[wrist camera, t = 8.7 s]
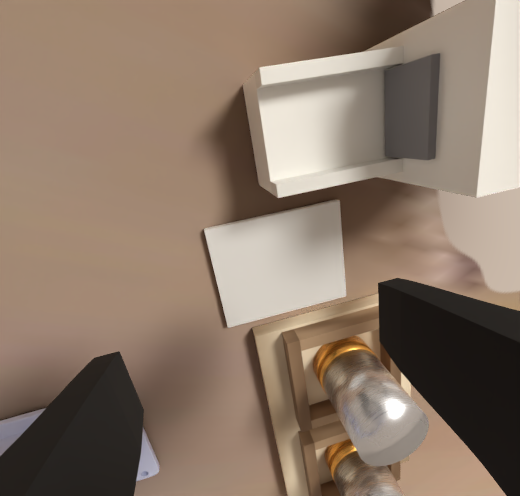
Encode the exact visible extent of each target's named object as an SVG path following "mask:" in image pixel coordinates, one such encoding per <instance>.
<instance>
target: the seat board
mask: <svg viewBox="0 0 520 496" xmlns="http://www.w3.org/2000/svg"><path fill="white" fill-rule="evenodd" d="M252 330H253V335H254V339H255V344H256V349H257V354H258V358H259V363H260V368H261V373H262V377H263V382H264V387H265V392H266V397H267V401H268V406H269V411H270V416H271V420H272V425H273V430H274V435H275V439H276V444H277V449H278V454H279V459H280V463H281V468H282V473H283V478H284V482H285V487H286V492H287V495H288V496H341V495H340V493H339V490H338V488H337V485H336V483H335V482H334V480H333V478H332V475H331V473H330V471H329V468H328V466H327V463H326V461H325V451H326V449H327V447H328V446H330V445H333V444H336V443H339V442H342V441H345V440H348V439H350V437H349V435H348V434H347V432H346V430H345V428H344V426H343V424H342V422H341V420H340V419H339V417H338V415H337V413H336V411H335V409H334V407H333V405H332V404H331V402H330V400H329V398H328V396H327V394H326V393H325V392H324V390H323V388H322V386H321V385H320V383H319V381H318V379H317V377H316V375H315V373H314V370H313V360H314V357H315V355H316V353H317V351H318V350H319V348H320V347H321V346H322V345H324V344H327V343H331V342H334V341H338V340H341V339H345V338H348V337H352V336H358V337H360V338H361V339H362V340H363V341H364V342H365V343H366V344H367V345H368V346H369V348H370V349H371V350H372V351H373V352H374V353H375V355H376V356H377V357H378V359H379V361H380V362H381V363H382V364H383V365H384V366H385V368H386V369H387V370H388V371H389V372H390V373H391V375H392V376H393V377H394V378H395V379H396V380H397V382H398V383H399V384H400V385H401V386H402V388H403V389H404V390H405V391H406V392H407V393H408V395H409V396H410V397H411V383H410V382H409V381H408V380H407V378H406V377H405V376H404V375H403V374H402V373H401V371H400V370H399V369H398V367H397V366H396V365H395V363H394V362H393V360H392V359H391V358H390V356H389V355H388V353H387V352H386V350H385V349H384V347H383V346H382V344H381V343H380V341H379V297H378V294H375V295H371V296H367V297H364V298H360V299H356V300H353V301H349V302H345V303H342V304H338V305H334V306H331V307H327V308H323V309H320V310H316V311H312V312H308V313H305V314H301V315H297V316H294V317H290V318H286V319H283V320H279V321H275V322H272V323H268V324H264V325H261V326H257V327H253V328H252ZM406 461H409V456H407V457H406V458H404V459H403V460H401V461H399V462H396V463H394V464H391V465H387V466H388V468H389V470H390V471H391V473H392V475H393V476H394V478H395V480H396V481H397V480H400V463H403V462H406Z"/></svg>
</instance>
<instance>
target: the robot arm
mask: <svg viewBox="0 0 520 496" xmlns="http://www.w3.org/2000/svg"><path fill="white" fill-rule="evenodd" d="M378 297H379V341H380V343H381V344H382V346H383V347H384V349H385V350H386V352H387V353H388V355H389V356H390V358H391V359H392V360H393V362H394V363H395V365H396V366H397V367H398V369H399V370H400V371H401V373H402V374H403V375H404V376H405V377H406V378H407V380H408V381H409V382H410V383H411V384H412V385H413V386H414V387H415V389H416V390H417V391H418V392H419V393H420V394H421V395H422V396H423V398H424V399H425V400H426V401H427V402H428V403H429V404H430V405H431V406H432V407H433V409H434V410H435V411H436V412H437V413H438V414H439V415H440V416H441V417H442V419H443V420H444V421H445V422H446V423H447V424H448V425H449V426H450V427H451V429H452V430H453V431H454V432H455V433H456V434H457V435H458V436H459V437H460V439H461V440H462V441H463V442H464V443H465V444H466V445H467V446H468V448H469V449H470V450H471V451H472V452H473V453H474V455H475V456H476V457H477V458H478V459H479V461H480V462H481V463H482V464H483V465H484V467H485V468H486V469H487V471H488V472H489V473H490V475H491V476H492V477H493V478H494V480H495V481H496V482H497V484H498V485H499V486H500V488H501V489H502V490H503V492H504V493H505V494H506V495H507V496H520V311H517V310H513V309H509V308H506V307H502V306H498V305H495V304H491V303H487V302H484V301H480V300H477V299H473V298H470V297H466V296H463V295H459V294H456V293H452V292H449V291H446V290H442V289H439V288H435V287H432V286H428V285H425V284H421V283H417V282H413V281H409V280H405V279H400V278H396V279H392V280H388V281H384V282H381V283H378ZM143 413H144V410H143V407H142V405H141V402H140V400H139V398H138V395H137V393H136V390H135V388H134V386H133V383H132V381H131V378H130V376H129V373H128V371H127V369H126V366H125V364H124V361H123V359H122V357H121V354H120V352H115V353H111V354H107V355H103V356H100V357H96V358H94V359H93V360H92V361H91V362H90V363H89V364H87V365H86V366H85V368H84V369H83V370H82V371H81V372H80V373H79V374H78V375H77V376H76V377H75V378H74V379H73V380H72V381H71V382H70V383H69V384H68V385H67V387H66V388H65V389H64V390H63V391H62V392H61V393H60V394H59V395H58V396H57V397H56V398H55V400H54V401H53V402H52V403H51V404H50V405H49V406H48V407H47V408H44V409H40V410H37V411H33V412H30V413H26V414H23V415H19V416H16V417H12V418H8V419H5V420H1V421H0V496H134V491H135V485H136V481H139V480H142V479H145V478H148V477H151V476H154V475H156V474H157V473H158V472H159V467H160V466H159V462H158V460H157V458H156V455H155V453H154V451H153V449H152V446H151V444H150V442H149V439H148V437H147V435H146V432H145V430H144V428H143Z"/></svg>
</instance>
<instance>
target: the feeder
mask: <svg viewBox="0 0 520 496" xmlns="http://www.w3.org/2000/svg"><path fill="white" fill-rule="evenodd" d="M243 91H244V97H245V103H246V109H247V115H248V121H249V127H250V133H251V139H252V145H253V151H254V157H255V163H256V169H257V176H258V182H259V185H260V186H261V187H263V188H264V189H266V190H267V191H269V192H270V193H271V194H273V195H274V196H276V197H277V198H281V197H286V196H290V195H295V194H300V193H304V192H309V191H314V190H318V189H323V188H328V187H332V186H337V185H342V184H347V183H351V182H356V181H361V180H365V179H370V178H375V177H379V178H384V179H389V180H394V181H398V182H403V183H408V184H413V185H418V186H423V187H427V188H432V189H437V190H442V191H447V192H452V193H456V194H461V195H466V196H471V197H476V198H477V197H481V196H485V195H490V194H494V193H498V192H502V191H507V190H511V189H515V188H519V187H520V0H465V1H463V2H461V3H459V4H457V5H455V6H453V7H451V8H449V9H447V10H445V11H443V12H441V13H439V14H437V15H435V16H433V17H431V18H429V19H427V20H425V21H423V22H421V23H419V24H417V25H415V26H413V27H411V28H409V29H407V30H405V31H403V32H401V33H399V34H397V35H395V36H393V37H391V38H389V39H387V40H385V41H383V42H381V43H379V44H377V45H375V46H373V47H371V48H369V49H367V50H365V51H363V52H359V53H353V54H346V55H339V56H333V57H326V58H319V59H313V60H306V61H299V62H293V63H286V64H279V65H272V66H266V67H259V68H258V69H257V70H256V71H255V72H254V73H253V75H252V76H251V77H250V78H249V79H248V80H247V81H246V82H245V83H244V84H243Z"/></svg>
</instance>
